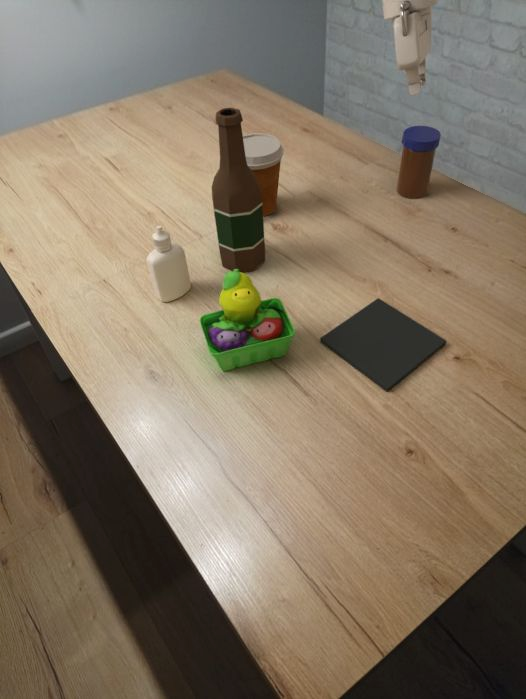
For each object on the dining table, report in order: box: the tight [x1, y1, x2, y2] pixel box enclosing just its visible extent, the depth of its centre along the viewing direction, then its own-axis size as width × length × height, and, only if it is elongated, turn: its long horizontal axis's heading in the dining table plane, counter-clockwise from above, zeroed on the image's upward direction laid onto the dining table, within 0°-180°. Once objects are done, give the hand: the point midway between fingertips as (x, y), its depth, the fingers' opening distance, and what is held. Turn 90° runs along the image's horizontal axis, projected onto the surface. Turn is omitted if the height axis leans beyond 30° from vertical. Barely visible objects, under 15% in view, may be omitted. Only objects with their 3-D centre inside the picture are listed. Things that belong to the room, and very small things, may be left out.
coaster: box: [319, 297, 447, 393], centre depth 70 cm, size 12×12×1 cm
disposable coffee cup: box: [242, 132, 285, 217], centre depth 91 cm, size 10×10×12 cm
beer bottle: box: [211, 107, 266, 273], centre depth 76 cm, size 8×8×24 cm
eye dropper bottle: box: [146, 225, 192, 303], centre depth 76 cm, size 4×6×12 cm
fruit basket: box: [199, 269, 296, 372], centre depth 67 cm, size 11×9×11 cm
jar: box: [396, 145, 437, 200], centre depth 93 cm, size 6×6×10 cm
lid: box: [401, 125, 442, 152], centre depth 89 cm, size 6×6×2 cm
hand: (418, 89), depth 93 cm, fingers open, 8 cm apart
